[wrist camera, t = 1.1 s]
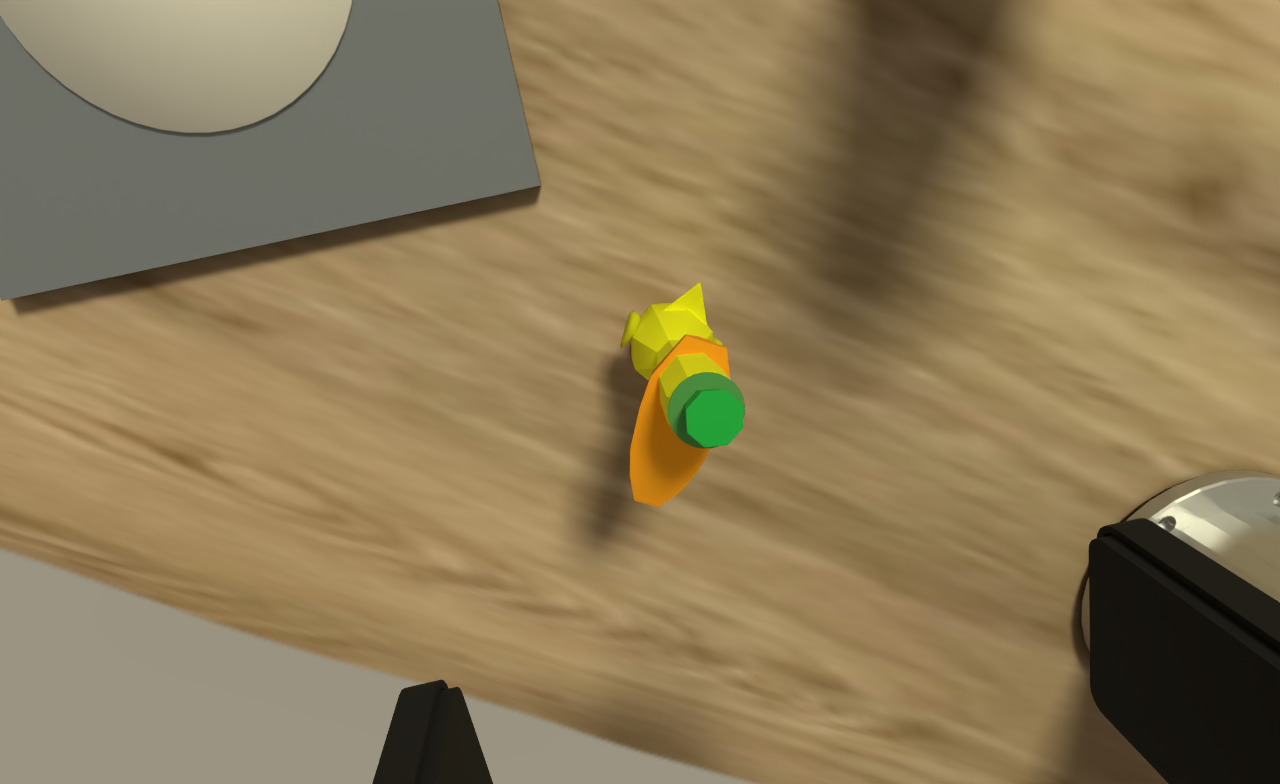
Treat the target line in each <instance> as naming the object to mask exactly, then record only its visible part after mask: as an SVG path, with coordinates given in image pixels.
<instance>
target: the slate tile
mask: <svg viewBox="0 0 1280 784" xmlns="http://www.w3.org/2000/svg"><path fill="white" fill-rule="evenodd" d="M540 185H541V181H540V176H539V172H538V168H537V164H536V159H535V155H534V151H533V146H532V142H531V138H530V134H529V129H528V125H527V121H526V117H525V112H524V108H523V104H522V100H521V95H520V91H519V87H518V83H517V78H516V74H515V70H514V66H513V61H512V57H511V53H510V49H509V44H508V40H507V36H506V32H505V27H504V23H503V19H502V15H501V10H500V6H499V2H498V0H0V298H1V300H2V301H3V300H7V299H12V298H17V297H21V296H26V295H31V294H35V293H40V292H45V291H50V290H54V289H59V288H64V287H68V286H73V285H78V284H82V283H87V282H92V281H96V280H101V279H106V278H110V277H115V276H120V275H124V274H129V273H134V272H138V271H143V270H148V269H152V268H157V267H162V266H167V265H171V264H176V263H181V262H185V261H190V260H195V259H199V258H204V257H209V256H213V255H218V254H223V253H227V252H232V251H237V250H241V249H246V248H251V247H255V246H260V245H265V244H269V243H274V242H279V241H283V240H288V239H293V238H298V237H302V236H307V235H312V234H316V233H321V232H326V231H330V230H335V229H340V228H344V227H349V226H354V225H358V224H363V223H368V222H372V221H377V220H382V219H386V218H391V217H396V216H400V215H405V214H410V213H415V212H419V211H424V210H429V209H433V208H438V207H443V206H447V205H452V204H457V203H461V202H466V201H471V200H475V199H480V198H485V197H489V196H494V195H499V194H503V193H508V192H513V191H517V190H522V189H527V188H531V187H536V186H540Z"/></svg>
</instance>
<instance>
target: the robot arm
mask: <svg viewBox="0 0 1280 784" xmlns="http://www.w3.org/2000/svg"><path fill="white" fill-rule="evenodd" d="M1081 624H1082V629H1083V634H1084V639H1085V643H1086V645H1087V647H1088V650H1089V652H1090V687H1091V692H1092V696H1093V699H1094V701H1095V703H1096V705H1097V707H1098V708H1099V710H1100V711H1101V712H1102V714H1103V715H1104V716H1105V717H1106V718H1107V719H1108V720H1109V721H1110V722H1111V723H1112V724H1113V725H1114V726H1115V728H1116V729H1117V730H1118V731H1119V732H1120V733H1121V734H1122V735H1123V736H1124V737H1125V738H1126V739H1127V740H1128V741H1129V742H1130V743H1131V744H1132V745H1133V746H1134V747H1135V749H1136V750H1137V751H1138V752H1139V753H1140V754H1141V755H1142V756H1143V757H1144V758H1145V759H1146V760H1147V761H1148V762H1149V763H1150V764H1151V765H1152V766H1153V767H1154V768H1155V770H1156V771H1157V772H1158V773H1159V774H1160V775H1161V776H1162V777H1163V778H1164V779H1165V780H1166V781H1167V782H1168V783H1169V784H1280V477H1277V476H1275V475H1272V474H1270V473H1263V472H1257V471H1250V470H1238V471H1222V472H1217V473H1213V474H1208V475H1204V476H1199V477H1196V478H1194V479H1191V480H1189V481H1186V482H1184V483H1181V484H1179V485H1176V486H1174V487H1172V488H1170V489H1169V490H1167V491H1165V492H1164V493H1162V494H1160V495H1158V496H1157V497H1155V498H1153V499H1152V500H1150V501H1149V502H1148V503H1146V504H1145V505H1144V506H1143V507H1141V508H1140V509H1139V510H1138V511H1136V512H1135V513H1134V514H1133V515H1132V516H1130V517H1129V518H1128V519H1127V520H1126V521H1124V522H1120V523H1116V524H1111V525H1107V526H1104V527H1102V528H1100V530H1099V532H1098V533H1097V539H1094V540H1092V541H1091V542H1090V544H1089V578H1088V580H1087V584H1086V588H1085V592H1084V596H1083V600H1082V619H1081ZM373 784H493V782H492V779H491V776H490V773H489V770H488V767H487V764H486V761H485V758H484V756H483V752H482V750H481V747H480V744H479V741H478V738H477V735H476V732H475V729H474V726H473V723H472V720H471V717H470V714H469V711H468V708H467V705H466V703H465V699H464V696H463V694H462V691H461V690H460V688H459V687H454V688H450V689H449V688H448V686H447V684H446V683H445V682H444V681H443V680H438V681H433V682H429V683H425V684H420V685H416V686H412V687H408V688H404V689H403V690H401V693H400V695H399V698H398V701H397V704H396V708H395V711H394V714H393V717H392V721H391V724H390V728H389V731H388V734H387V738H386V741H385V744H384V747H383V750H382V754H381V757H380V760H379V764H378V767H377V770H376V774H375V777H374V780H373Z"/></svg>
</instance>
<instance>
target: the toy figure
mask: <svg viewBox="0 0 1280 784" xmlns="http://www.w3.org/2000/svg"><path fill="white" fill-rule="evenodd" d="M630 340H631V357H632V361H633V364H634V368H635V370H636V371H637V372H638V373H640V374H641V375H642V376H643V377H644V378H646V379H647V380H648V384H647V387H646V390H645V393H644V395H643V398H642V401H641V404H640V408H639V413H638V417H637V421H636V425H635V430H634V434H633V438H632V442H631V448H630V479H631V485H632V490H633V496H634V501H638V502H641V503H645V504H649V505H652V506H656V507H660V506H661V505H662V504H664V503H665V502H666V501H668V500H669V499H671V498H672V497H673V496H675V495H676V494H678V493H679V492H680V491H682V489H683V488H684V487H685V486H686V485H687V483H688V482H689V481H690V480H691V479H692V477H693V476H694V475H695V474H696V473H697V472H698V470H699V469H700V467H701V465H702V463H703V461H704V460H705V458H706V456H707V454H708V452H709V451H710V449H711V448H714V447H717V446H723V445H728V444H729V443H730V442H731V441H732V440H733V439H734V437H735V436H736V435H737V434H738V433H739V432H740V431H741V430H742V428H743V418H744V414H745V404H744V399H743V396H742V394H741V392H740V389H739V388H738V387H737V386H736V384H735V383H734V382H732V381H731V380H730V375H729V365H728V354H727V348H726V347H723V346H722V343H721V342H720V341H719V340H718V339H716V338H715V337H714V338H713V332H712V330H711V329H710V328H709V327H708V325H707V323H706V316H705V309H704V302H703V296H702V289H701V282H700V283H699V284H697V285H696V286H695V287H693V288H692V289H691V290H689V291H688V292H687V293H685V294H684V295H683V296H681V297H680V298H679V299H678V300H676V301H675V302H674V303H666V304H652V305H650V306H649V308H648V309H647V310H646V311H645V312H644V313H643V314H642V315H641V316H639V315H638V314H637V313H636V312H635V311H632V312H630V314H629V316H628V319H627V322H626V325H625V329H624V333H623V337H622V341H621V348H622V347H624V346H626V345H627V343H628V342H629V341H630Z"/></svg>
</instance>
